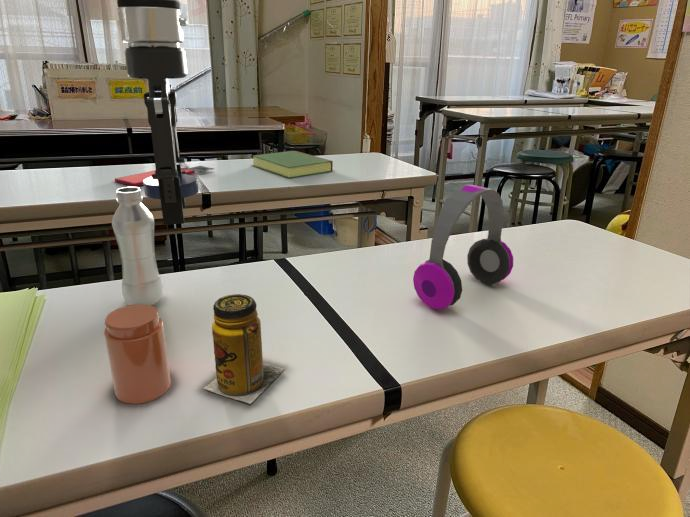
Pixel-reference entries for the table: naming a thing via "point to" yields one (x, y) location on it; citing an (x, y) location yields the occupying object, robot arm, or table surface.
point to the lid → (186, 185)
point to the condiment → (239, 350)
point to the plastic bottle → (136, 248)
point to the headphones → (483, 257)
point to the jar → (137, 353)
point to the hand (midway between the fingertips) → (175, 214)
